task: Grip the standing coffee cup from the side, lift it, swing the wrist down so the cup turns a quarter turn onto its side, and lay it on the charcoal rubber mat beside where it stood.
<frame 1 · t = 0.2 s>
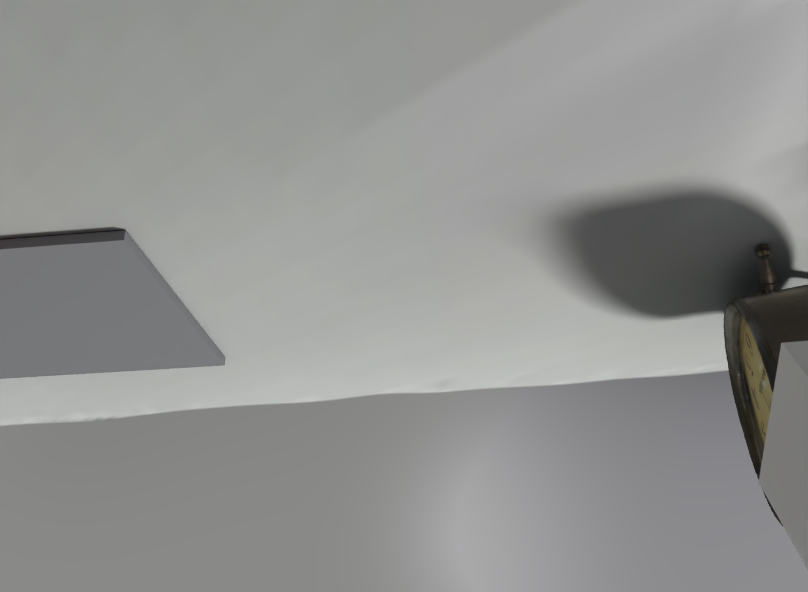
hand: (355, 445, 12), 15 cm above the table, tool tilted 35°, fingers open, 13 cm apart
alarm clock: (774, 279, 39), on the table
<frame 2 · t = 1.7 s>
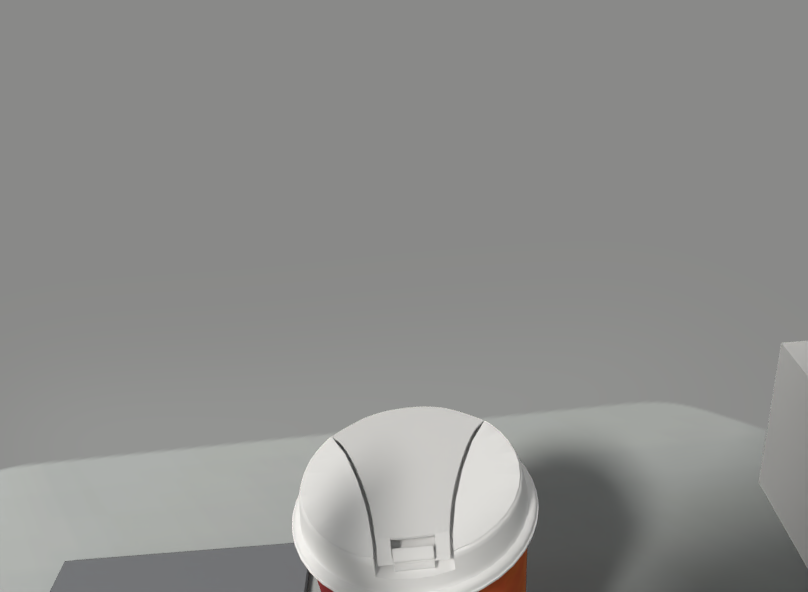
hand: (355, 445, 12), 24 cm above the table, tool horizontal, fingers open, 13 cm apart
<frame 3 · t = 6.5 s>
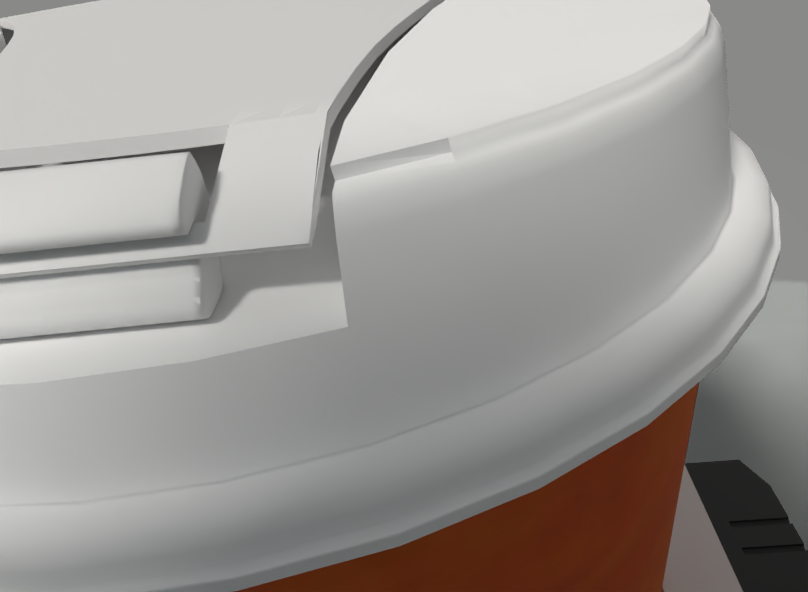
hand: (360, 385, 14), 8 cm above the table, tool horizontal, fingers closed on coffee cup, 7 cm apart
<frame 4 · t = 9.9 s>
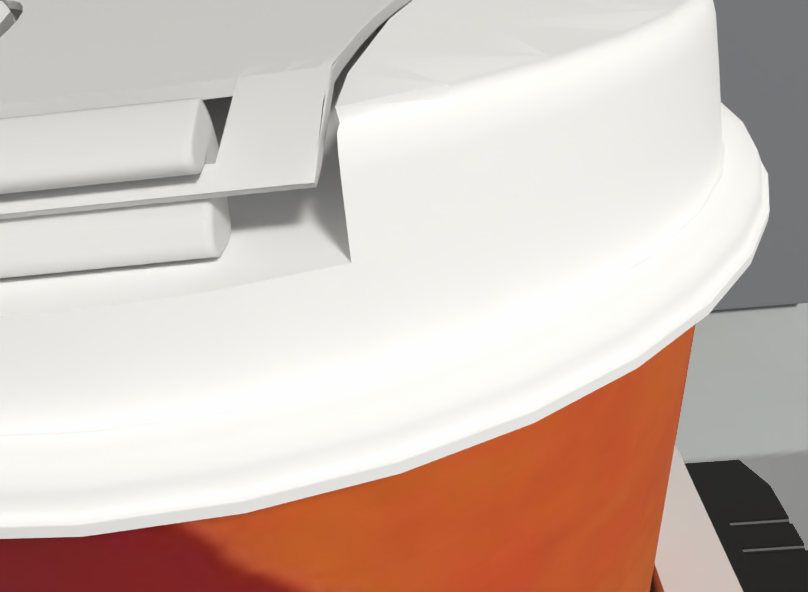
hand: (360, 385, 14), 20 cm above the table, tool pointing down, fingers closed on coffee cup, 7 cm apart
mat: (664, 72, 30), on the table
when the fingers open (2 cm above the table, at t = 14.7 s): coffee cup drops 3 cm, resting on mat.
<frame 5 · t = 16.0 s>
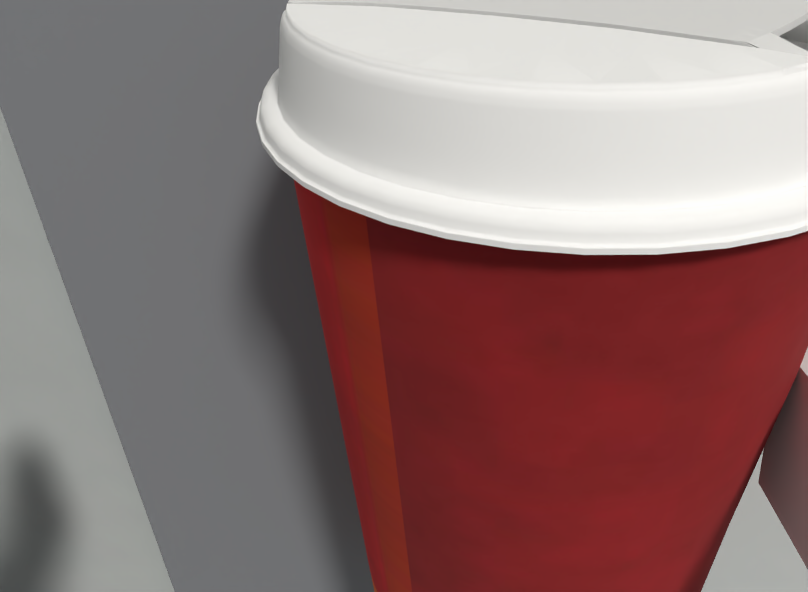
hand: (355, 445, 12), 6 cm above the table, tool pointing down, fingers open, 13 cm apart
mat: (385, 281, 17), on the table
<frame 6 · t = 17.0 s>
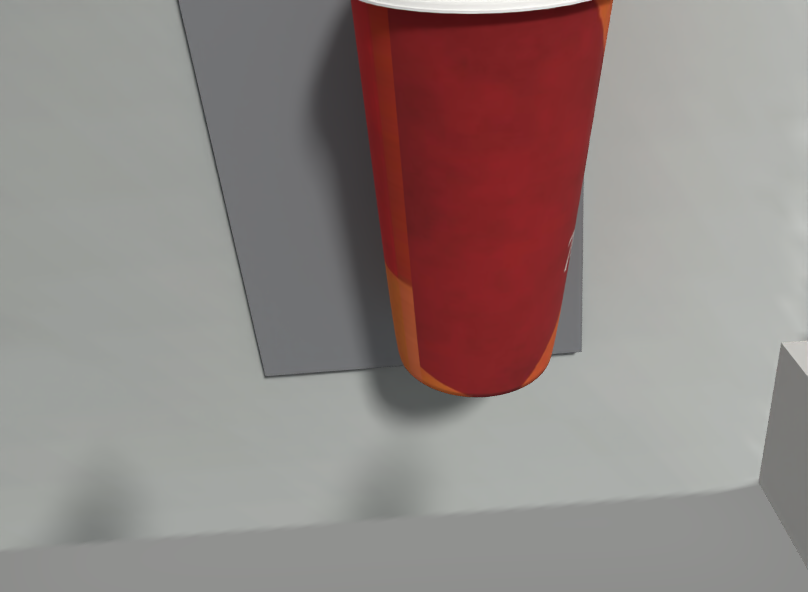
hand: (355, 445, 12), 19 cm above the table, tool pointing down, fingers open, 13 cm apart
mat: (394, 115, 29), on the table
coffee cup: (472, 349, 30), point 3 cm above the table, touching mat
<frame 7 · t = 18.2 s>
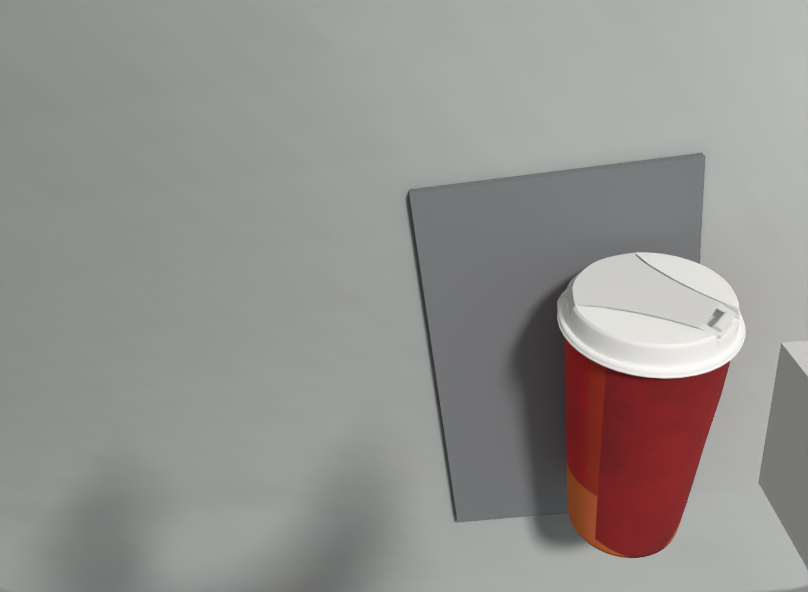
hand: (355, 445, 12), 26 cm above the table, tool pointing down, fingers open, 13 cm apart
mat: (562, 360, 42), on the table
coffee cup: (620, 514, 43), point 3 cm above the table, touching mat
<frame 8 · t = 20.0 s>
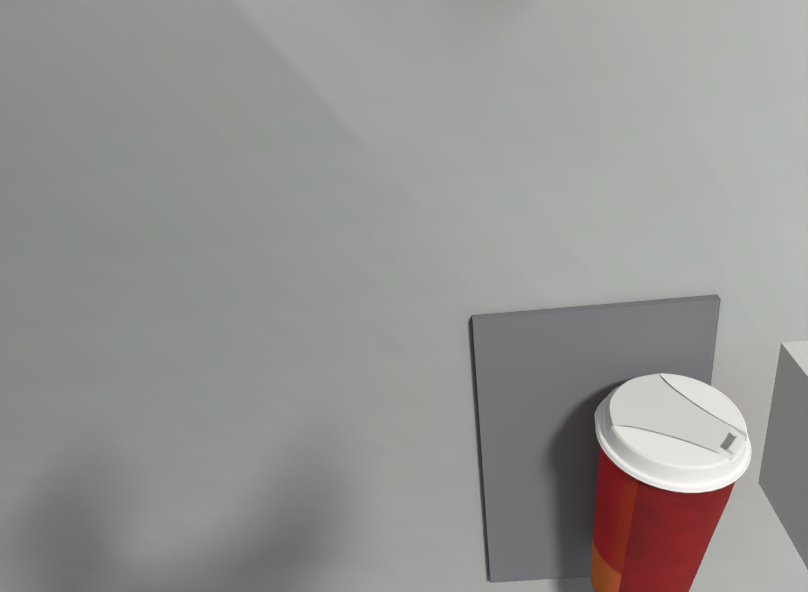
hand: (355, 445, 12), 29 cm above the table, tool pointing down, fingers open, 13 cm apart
mat: (590, 452, 49), on the table
coffee cup: (635, 584, 50), point 3 cm above the table, touching mat
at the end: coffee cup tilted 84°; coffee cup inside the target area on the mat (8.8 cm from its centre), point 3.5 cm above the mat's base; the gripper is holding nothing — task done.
